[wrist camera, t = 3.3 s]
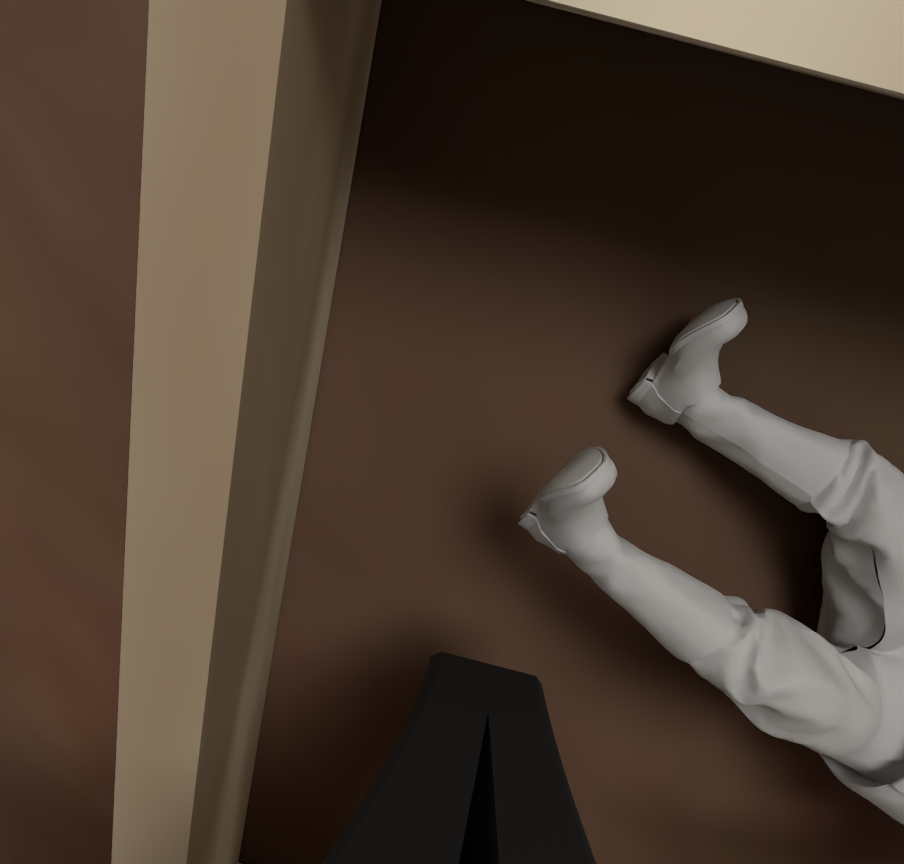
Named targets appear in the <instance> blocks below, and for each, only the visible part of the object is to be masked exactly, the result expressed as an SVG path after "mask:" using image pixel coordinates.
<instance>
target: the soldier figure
mask: <svg viewBox="0 0 904 864" xmlns="http://www.w3.org/2000/svg"><path fill="white" fill-rule="evenodd" d="M743 306H744V305H743V302H742V300H741V299H740V298H734V299H729V300H725V301H722V302H719V303H717V304H715V305H713V306H711V307H709V308H707V309H705V310H704V311H702V312H701V313H700V314H698V315H697V316H696V317H694V318H693V319H692V321H691V322H690V323H689V324H688V325H687V326H686V327H685V328H684V329H683V330H682V331H681V332H680V333H679V334H678V335H677V336H676V337H675V339H674V341H673V343H672V344H671V346H670V350H669V354H666V353H663V354H661V355H660V356H659V357H658V358H657V359H656V360H654V361H653V362H652V363H651V365H650V366H649V367H648V368H647V369H646V370H645V371H644V373H643V374H642V375H641V377H640V378H639V380H638V381H637V382H636V384H635V385H634V386H633V388H632V389H631V390H630V392H629V395H628V397H627V399H628V400H629V401H631V402H632V403H634V404H636V405H638V406H639V407H640V408H641V409H642V411H643V412H644V413H645V414H647V415H649V416H651V417H653V418H656V419H658V420H659V421H661V422H663V423H665V424H674V423H675V422H677V423H679V424H681V425H683V426H684V427H685V428H686V429H687V430H688V431H689V432H690V433H691V435H692V436H693V437H694V438H695V439H697V440H699V441H700V442H702V443H704V444H706V445H707V446H709V447H711V448H712V449H714V450H716V451H717V452H719V453H721V454H722V455H724V456H725V457H727V458H729V459H730V460H732V461H734V462H735V463H737V464H738V465H740V466H741V467H743V468H744V469H745V470H747V471H748V472H750V473H751V474H753V475H754V476H756V477H758V478H759V479H761V480H762V481H763V482H764V483H765V484H767V485H768V486H769V487H770V488H772V489H773V490H774V491H776V492H777V493H778V494H780V495H781V496H783V497H784V498H785V499H787V500H788V501H789V502H791V503H792V504H795V506H796V507H797V508H798V509H799V510H801V511H803V512H808V513H812V512H815V513H818V514H820V515H821V516H822V517H823V518H824V519H825V520H826V527H827V528H828V529H829V531H828V533H827V535H826V537H825V540H824V543H823V546H822V551H821V563H822V586H823V598H822V606H821V610H820V619H819V623H818V629H817V633H816V632H814V631H812V630H811V629H809V628H808V627H806V626H805V625H803V624H802V623H800V622H799V621H797V620H795V619H793V618H792V617H790V616H788V615H787V614H785V613H783V612H781V611H778V610H775V609H767V608H764V609H759V610H756V611H752V610H751V609H750V607H749V606H748V604H747V603H746V602H745V601H744V600H743V599H741V598H739V597H737V596H724V595H723V594H721V593H720V592H718V591H717V590H715V589H713V588H712V587H710V586H708V585H706V584H705V583H703V582H701V581H699V580H697V579H695V578H694V577H692V576H690V575H688V574H687V573H685V572H683V571H682V570H680V569H678V568H677V567H675V566H673V565H671V564H669V563H667V562H665V561H663V560H660V559H658V558H655V557H653V556H651V555H649V554H647V553H645V552H643V551H642V550H640V549H638V548H637V547H636V546H634V545H633V544H631V543H629V542H628V541H626V540H624V539H623V538H621V537H619V536H618V535H617V534H616V532H615V531H614V529H613V527H612V525H611V524H610V522H609V521H608V514H607V511H606V508H605V505H604V501H603V496H604V495H605V493H606V492H607V491H608V490H609V489H610V488H611V487H612V485H613V484H614V482H615V479H616V477H617V470H616V467H615V465H614V463H613V461H612V460H611V459H610V458H609V456H608V454H607V452H606V451H605V449H603V448H602V447H599V446H593V447H588V448H586V449H583V450H581V451H580V452H578V453H576V454H575V455H574V456H573V457H572V458H571V459H570V460H569V461H568V462H567V463H566V464H565V465H564V467H563V468H562V469H561V470H560V471H559V472H558V473H557V474H556V475H555V476H554V477H553V478H552V479H551V480H550V481H549V482H547V483H546V484H545V485H544V486H543V487H542V488H541V489H540V491H539V492H538V494H537V495H536V496H535V498H534V499H533V501H532V502H531V503H530V505H529V506H528V507H527V509H526V510H525V511H524V512H523V514H522V515H521V516H520V518H519V519H520V521H519V522H518V524H519V525H520V526H522V527H523V528H525V529H526V530H528V531H529V532H530V534H531V535H532V536H533V538H534V539H535V540H536V541H538V542H540V543H542V544H544V545H546V546H548V547H550V548H551V549H553V550H554V551H555V552H557V553H558V554H566V555H567V556H568V557H570V559H571V560H572V561H573V562H574V563H575V564H576V566H577V567H578V568H579V569H581V570H582V571H583V572H585V573H587V574H588V575H589V576H590V577H591V579H592V580H593V581H594V582H595V583H596V584H597V585H598V586H599V587H600V588H601V589H602V590H603V591H604V592H605V593H606V594H607V595H609V596H610V597H611V598H612V599H613V600H614V601H615V602H617V603H618V604H619V605H621V606H622V607H623V608H624V609H625V610H626V611H627V612H628V613H630V614H631V615H632V616H633V617H634V618H635V619H636V620H637V621H638V622H639V623H640V624H641V625H643V626H644V627H645V628H646V629H647V630H648V631H649V633H650V634H651V635H652V636H653V637H654V638H655V639H656V640H657V641H658V642H659V643H660V644H661V645H662V646H663V647H664V648H665V649H666V650H668V651H669V652H670V653H671V654H672V655H674V656H675V657H676V658H678V659H679V660H682V661H684V662H687V663H689V664H690V665H691V666H692V667H693V669H694V670H695V671H696V673H697V674H698V675H700V676H701V677H702V678H704V679H706V680H708V681H709V682H710V683H712V684H713V685H714V686H716V687H717V688H719V689H720V690H721V691H723V692H724V694H725V695H726V696H728V697H729V698H730V699H731V700H732V701H733V702H734V703H735V704H736V705H737V707H738V708H739V709H740V710H741V711H742V712H743V713H744V714H745V715H746V717H747V718H748V719H749V720H750V721H751V722H752V723H753V724H754V725H755V726H756V727H757V728H759V729H760V730H762V731H764V732H765V733H767V734H769V735H771V736H774V737H776V738H780V739H784V740H787V741H791V742H794V743H798V744H802V745H804V746H806V747H808V748H810V749H812V750H814V751H816V752H818V753H819V755H820V756H821V757H822V759H823V760H824V761H825V763H826V764H827V766H828V767H829V768H830V770H831V771H832V773H833V774H834V775H835V776H836V777H837V778H838V779H839V780H840V781H841V782H842V783H843V784H844V785H846V786H847V787H848V788H850V789H851V790H853V791H854V792H856V793H858V794H859V795H861V796H862V797H864V798H866V799H867V800H869V801H870V802H872V803H873V804H874V805H876V806H877V807H878V808H880V809H881V810H882V811H884V812H885V813H886V814H888V815H889V816H890V817H892V818H893V819H895V820H896V821H898V822H900V823H901V824H903V825H904V474H903V473H902V472H901V471H900V470H899V469H897V468H896V467H895V466H893V465H892V464H891V463H890V462H889V461H888V460H886V459H885V458H884V457H882V456H880V455H878V454H876V453H875V451H874V450H873V449H872V448H871V446H870V445H869V443H868V442H866V441H865V440H851V439H837V438H834V437H831V436H828V435H826V434H823V433H820V432H816V431H813V430H810V429H807V428H804V427H801V426H799V425H796V424H794V423H791V422H789V421H787V420H785V419H782V418H780V417H778V416H776V415H774V414H772V413H770V412H768V411H766V410H764V409H762V408H761V407H759V406H757V405H756V404H754V403H752V402H750V401H748V400H746V399H744V398H741V397H737V396H730V395H729V394H727V393H726V392H725V391H723V390H722V389H720V388H719V387H718V386H719V385H720V384H721V378H720V372H719V366H718V357H719V351H720V349H721V347H722V345H723V344H724V343H726V342H728V341H730V340H731V339H733V338H734V337H736V336H737V335H738V334H739V333H740V332H741V331H742V329H743V328H744V327H745V326H746V324H747V319H748V316H747V312H746V310H745V308H744V307H743ZM647 378H648V379H651V380H652V381H651V382H650V381H648V380H646V379H647ZM878 580H879V582H880V586H881V589H880V586H879V583H878ZM881 590H882V592H881ZM882 593H883V595H882ZM883 599H884V601H883ZM884 614H885V615H884ZM885 624H886V630H885V632H884V633H883V631H884V627H885Z"/></svg>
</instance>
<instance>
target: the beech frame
mask: <svg viewBox="0 0 904 864" xmlns="http://www.w3.org/2000/svg"><path fill="white" fill-rule="evenodd" d="M526 1H530V2H534V3H537V4H541V5H545V6H549V7H553V8H556V9H560V10H564V11H568V12H572V13H575V14H579V15H583V16H587V17H591V18H594V19H598V20H602V21H606V22H610V23H613V24H617V25H621V26H625V27H629V28H632V29H636V30H640V31H644V32H648V33H651V34H655V35H659V36H663V37H667V38H670V39H674V40H678V41H682V42H686V43H689V44H693V45H697V46H701V47H705V48H708V49H712V50H716V51H720V52H724V53H727V54H731V55H735V56H739V57H743V58H746V59H750V60H754V61H758V62H762V63H765V64H769V65H773V66H777V67H781V68H784V69H788V70H792V71H796V72H800V73H803V74H807V75H811V76H815V77H819V78H822V79H826V80H830V81H834V82H838V83H841V84H845V85H849V86H853V87H857V88H860V89H864V90H868V91H872V92H875V93H879V94H883V95H887V96H891V97H894V98H898V99H902V100H904V0H526ZM381 2H382V0H149V19H148V42H147V65H146V88H145V110H144V133H143V156H142V179H141V201H140V224H139V247H138V270H137V293H136V315H135V338H134V361H133V384H132V406H131V429H130V452H129V475H128V497H127V520H126V543H125V566H124V588H123V611H122V634H121V657H120V679H119V702H118V725H117V748H116V771H115V793H114V816H113V839H112V862H111V864H241V863H238V861H239V855H240V849H241V843H242V837H243V831H244V825H245V819H246V813H247V807H248V801H249V795H250V789H251V783H252V777H253V771H254V765H255V759H256V753H257V747H258V741H259V735H260V729H261V723H262V717H263V711H264V705H265V699H266V693H267V687H268V681H269V675H270V669H271V663H272V657H273V651H274V645H275V639H276V633H277V627H278V621H279V615H280V609H281V603H282V597H283V591H284V585H285V579H286V573H287V567H288V561H289V555H290V549H291V543H292V537H293V531H294V525H295V519H296V513H297V507H298V501H299V495H300V489H301V483H302V477H303V471H304V465H305V459H306V453H307V446H308V440H309V434H310V428H311V422H312V416H313V410H314V404H315V398H316V392H317V386H318V380H319V374H320V368H321V362H322V356H323V350H324V344H325V338H326V332H327V326H328V320H329V314H330V308H331V302H332V296H333V290H334V284H335V278H336V272H337V266H338V260H339V254H340V248H341V242H342V236H343V230H344V224H345V218H346V212H347V206H348V200H349V194H350V188H351V182H352V176H353V170H354V164H355V158H356V152H357V146H358V140H359V134H360V128H361V122H362V116H363V110H364V104H365V98H366V92H367V86H368V80H369V74H370V68H371V62H372V56H373V50H374V44H375V38H376V32H377V26H378V20H379V14H380V8H381Z"/></svg>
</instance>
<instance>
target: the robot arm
mask: <svg viewBox="0 0 904 864" xmlns="http://www.w3.org/2000/svg"><path fill="white" fill-rule="evenodd" d="M321 864H596V862H595V859H594V857H593V854H592V851H591V848H590V846H589V843H588V840H587V837H586V834H585V831H584V829H583V826H582V823H581V820H580V817H579V814H578V811H577V809H576V806H575V803H574V800H573V797H572V794H571V791H570V788H569V785H568V782H567V778H566V775H565V772H564V768H563V765H562V762H561V758H560V755H559V752H558V748H557V745H556V741H555V738H554V734H553V730H552V727H551V723H550V719H549V715H548V711H547V707H546V702H545V698H544V693H543V688H542V685H541V683H540V682H539V680H538V678H537V677H536V676H533V675H530V674H526V673H522V672H518V671H514V670H510V669H506V668H502V667H499V666H495V665H491V664H487V663H483V662H479V661H475V660H471V659H467V658H464V657H460V656H456V655H452V654H448V653H444V652H440V653H438V654H436V655H433V656H431V658H430V662H429V665H428V669H427V672H426V675H425V679H424V682H423V686H422V689H421V693H420V695H419V698H418V700H417V702H416V705H415V707H414V709H413V711H412V713H411V715H410V718H409V720H408V722H407V724H406V726H405V728H404V730H403V732H402V734H401V736H400V738H399V740H398V741H397V743H396V745H395V747H394V749H393V750H392V752H391V754H390V756H389V757H388V759H387V761H386V763H385V765H384V766H383V768H382V770H381V772H380V773H379V775H378V777H377V779H376V781H375V782H374V784H373V786H372V787H371V789H370V790H369V792H368V794H367V795H366V797H365V798H364V800H363V801H362V803H361V805H360V806H359V808H358V809H357V811H356V812H355V814H354V815H353V817H352V818H351V820H350V821H349V823H348V824H347V826H346V827H345V829H344V830H343V832H342V833H341V835H340V837H339V838H338V840H337V841H336V843H335V844H334V846H333V847H332V849H331V850H330V852H329V853H328V854H327V856H326V857H325V859H324V860H323V861H322V863H321Z"/></svg>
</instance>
